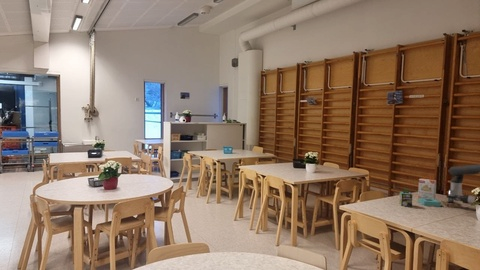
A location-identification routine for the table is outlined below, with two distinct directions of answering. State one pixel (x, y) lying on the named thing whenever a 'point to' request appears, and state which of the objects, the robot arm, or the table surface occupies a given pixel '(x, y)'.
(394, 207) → the table surface
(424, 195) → the cracker box
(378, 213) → the table surface
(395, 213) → the table surface
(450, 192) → the peg
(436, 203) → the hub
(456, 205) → the frame
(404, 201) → the chalk box
